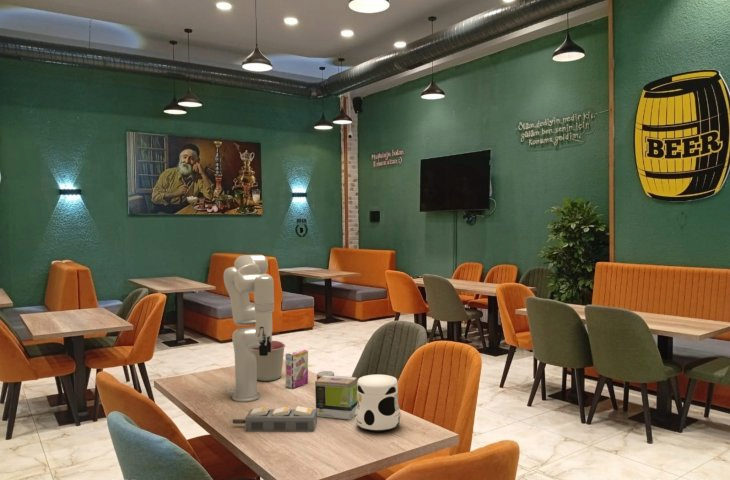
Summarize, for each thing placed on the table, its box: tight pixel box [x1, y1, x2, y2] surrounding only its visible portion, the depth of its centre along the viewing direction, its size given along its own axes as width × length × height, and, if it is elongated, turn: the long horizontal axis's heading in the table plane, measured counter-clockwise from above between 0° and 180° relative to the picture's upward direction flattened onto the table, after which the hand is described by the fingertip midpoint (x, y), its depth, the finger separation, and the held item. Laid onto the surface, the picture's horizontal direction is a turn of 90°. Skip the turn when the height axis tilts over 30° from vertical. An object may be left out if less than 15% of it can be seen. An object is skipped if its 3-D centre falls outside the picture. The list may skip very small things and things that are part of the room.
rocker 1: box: [250, 405, 270, 416], centre depth 208 cm, size 6×5×2 cm
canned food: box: [316, 370, 335, 380], centre depth 241 cm, size 8×8×11 cm
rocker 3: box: [295, 405, 314, 416], centre depth 207 cm, size 6×5×2 cm
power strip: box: [232, 408, 318, 432], centre depth 207 cm, size 32×9×5 cm, turn 87°
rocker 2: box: [272, 405, 292, 416], centre depth 207 cm, size 6×5×2 cm
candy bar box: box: [285, 349, 309, 390], centre depth 260 cm, size 11×5×16 cm, turn 144°
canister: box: [250, 340, 286, 382], centre depth 272 cm, size 18×18×21 cm
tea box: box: [314, 375, 358, 421], centre depth 220 cm, size 15×10×15 cm
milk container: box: [354, 374, 401, 432], centre depth 206 cm, size 17×17×18 cm
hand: (265, 353), depth 211 cm, fingers open, 4 cm apart
